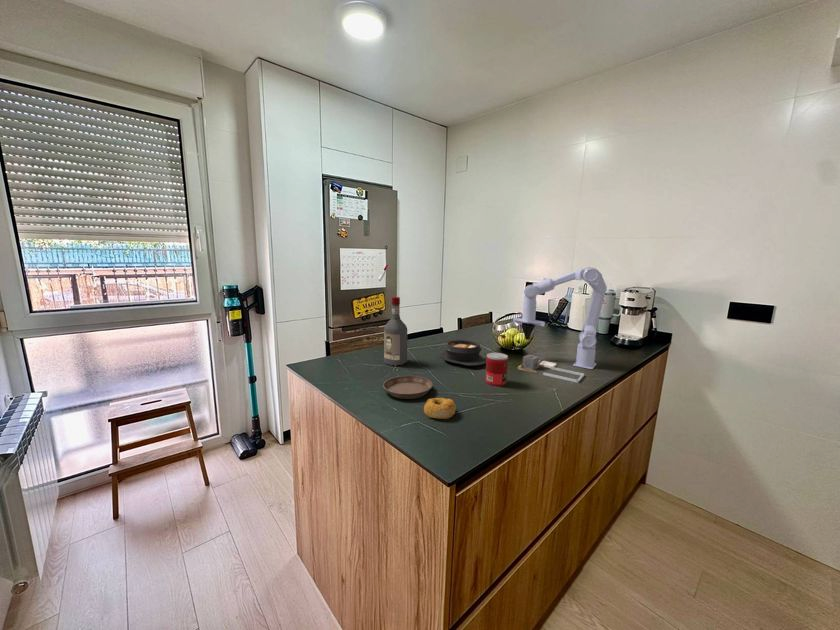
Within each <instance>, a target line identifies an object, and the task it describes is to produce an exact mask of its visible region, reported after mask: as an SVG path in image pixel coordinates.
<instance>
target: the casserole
mask: <svg viewBox="0 0 840 630" xmlns="http://www.w3.org/2000/svg"><path fill="white" fill-rule="evenodd" d="M481 351H482V348H481V346H480V344H479V343H478V342H476V341H473V340H465V339H459V340H458V339H457V340H451V341H447V342H446V344H445V346H444V351H441V352H439V354H440V355H441V357H442V359H444V360H445V361H447V362H449V363H453V364H456V365H463V366H467V367H475V366H476V367H477V366H481V365H484V364H485V365H486V359H485V358H484V357H483V356H482V355H480V352H481Z"/></svg>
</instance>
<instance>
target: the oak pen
mask: <svg viewBox="0 0 840 630" xmlns="http://www.w3.org/2000/svg"><path fill="white" fill-rule="evenodd" d="M522 365H523V363H521V364H520V365H519V366H517V370H518V371H519V370H520V371H524V372H526V373H527V372H529V373H532V374H537V370H536V369H534V370H530V369H526V368H523V367H522ZM539 368H543V369H544V368H545V367H544V365H540V363H539Z"/></svg>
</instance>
